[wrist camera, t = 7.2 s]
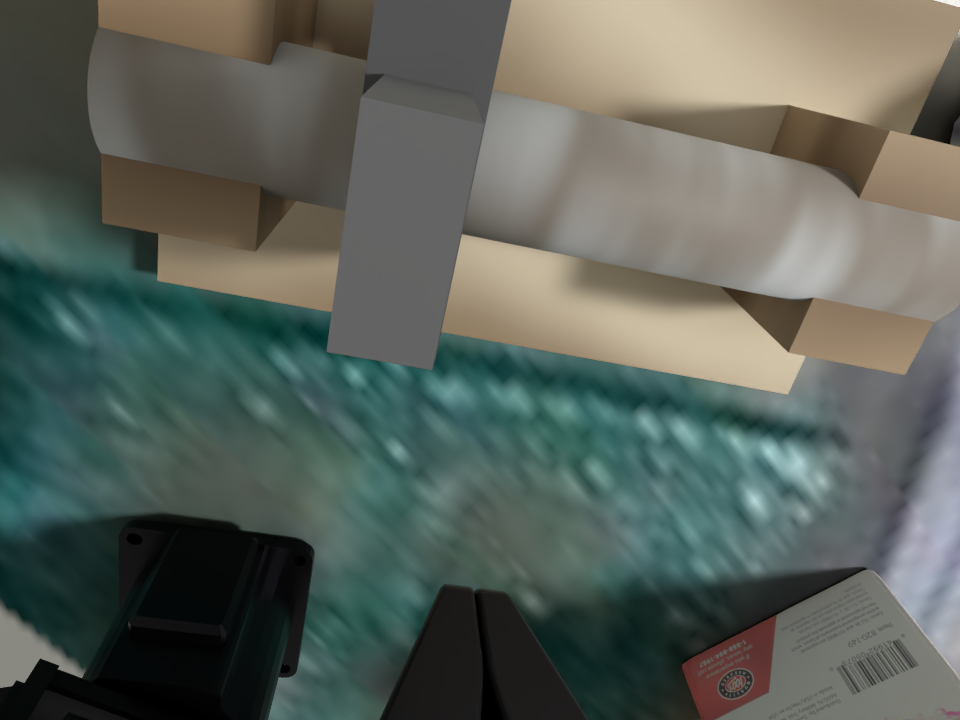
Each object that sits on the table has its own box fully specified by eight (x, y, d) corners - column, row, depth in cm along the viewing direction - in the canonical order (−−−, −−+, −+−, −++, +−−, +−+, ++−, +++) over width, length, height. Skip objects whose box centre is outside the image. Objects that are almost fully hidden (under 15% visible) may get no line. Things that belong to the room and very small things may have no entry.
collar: (437, 257, 19) (432, 471, 10) (364, 242, 19) (290, 449, 10) (489, -2, 16) (545, -26, 7) (404, -23, 16) (353, -76, 7)
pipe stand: (774, 379, 23) (879, 495, 17) (170, 268, 20) (67, 363, 14) (942, 10, 18) (1162, 7, 12) (182, -197, 15) (35, -317, 10)
